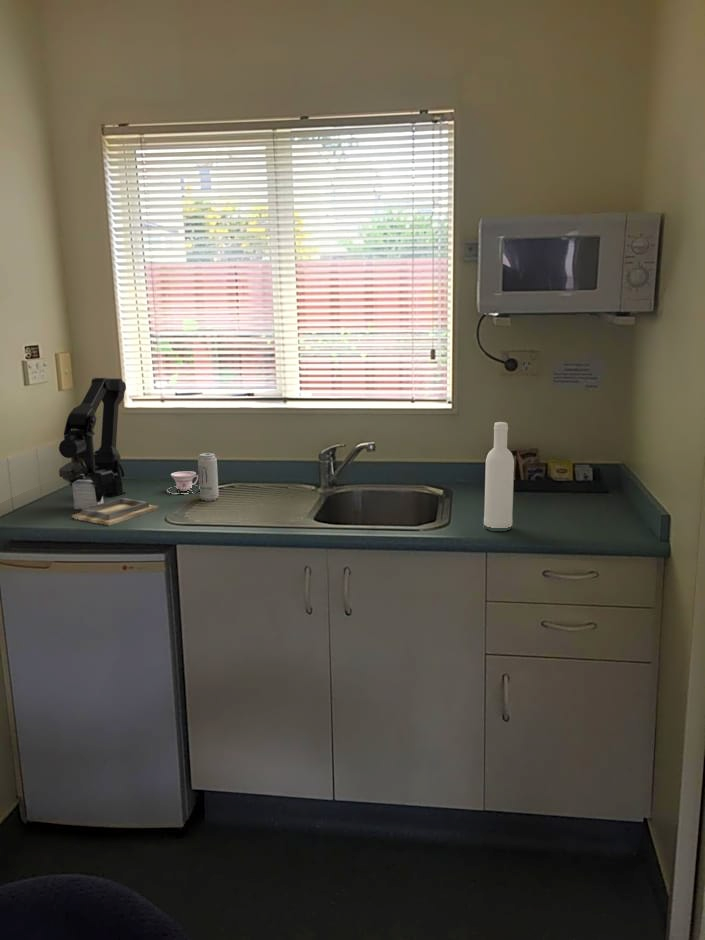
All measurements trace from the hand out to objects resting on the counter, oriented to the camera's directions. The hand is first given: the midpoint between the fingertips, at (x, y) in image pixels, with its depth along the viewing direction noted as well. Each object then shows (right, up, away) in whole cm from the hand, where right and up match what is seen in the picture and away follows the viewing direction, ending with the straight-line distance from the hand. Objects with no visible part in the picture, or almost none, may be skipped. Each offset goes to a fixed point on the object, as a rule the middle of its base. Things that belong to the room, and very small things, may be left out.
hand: (88, 500), depth 242 cm
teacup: (+26, +2, +21) cm, 33 cm away
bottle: (+124, -7, -26) cm, 127 cm away
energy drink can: (+36, 0, +9) cm, 38 cm away
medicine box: (0, -3, +1) cm, 3 cm away
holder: (+11, -4, -7) cm, 13 cm away
